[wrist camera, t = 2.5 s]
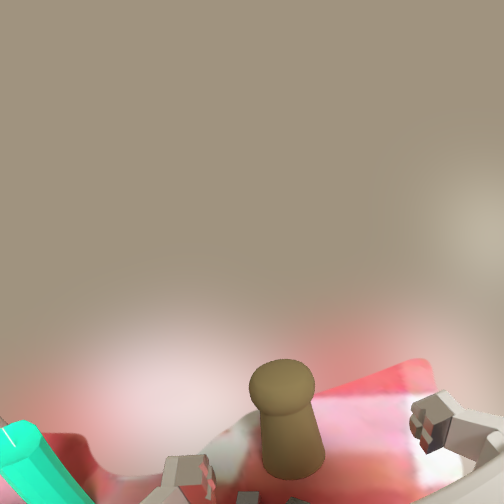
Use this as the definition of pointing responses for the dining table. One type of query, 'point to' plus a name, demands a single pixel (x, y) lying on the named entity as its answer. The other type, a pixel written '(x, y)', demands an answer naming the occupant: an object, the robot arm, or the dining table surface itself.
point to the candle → (36, 468)
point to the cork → (287, 419)
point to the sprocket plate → (251, 500)
